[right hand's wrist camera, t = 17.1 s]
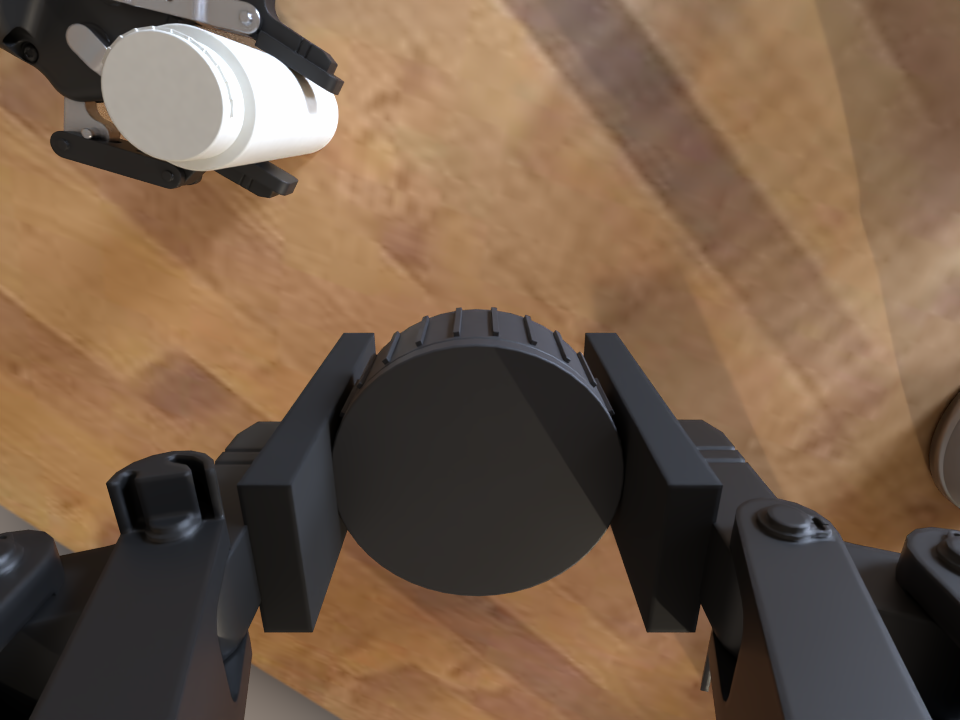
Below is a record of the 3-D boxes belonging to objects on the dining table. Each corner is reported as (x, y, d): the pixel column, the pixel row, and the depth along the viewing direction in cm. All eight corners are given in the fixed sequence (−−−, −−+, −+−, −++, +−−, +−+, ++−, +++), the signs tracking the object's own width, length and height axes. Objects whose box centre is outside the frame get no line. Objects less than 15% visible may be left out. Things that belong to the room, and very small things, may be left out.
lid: (355, 289, 11) (327, 321, 9) (629, 321, 11) (662, 360, 9) (345, 518, 13) (322, 585, 11) (579, 541, 13) (596, 611, 11)
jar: (354, 103, 32) (264, 83, 18) (311, 171, 34) (196, 204, 19) (282, 46, 31) (124, -25, 17) (240, 118, 33) (61, 112, 18)
